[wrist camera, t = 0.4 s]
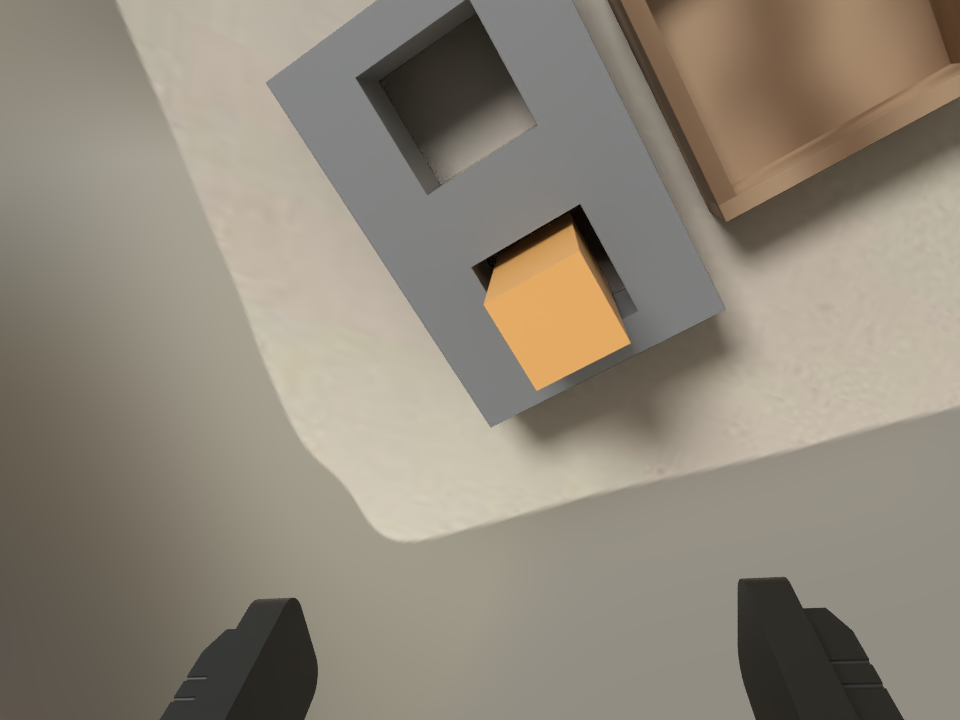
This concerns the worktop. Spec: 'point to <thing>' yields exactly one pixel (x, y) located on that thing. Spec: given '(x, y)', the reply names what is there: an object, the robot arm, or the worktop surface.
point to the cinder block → (496, 182)
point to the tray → (788, 82)
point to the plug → (554, 304)
